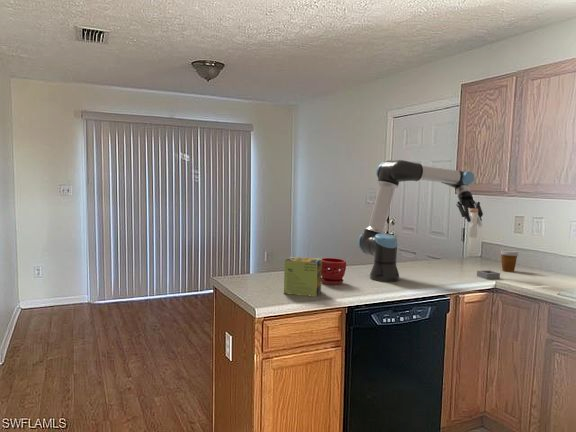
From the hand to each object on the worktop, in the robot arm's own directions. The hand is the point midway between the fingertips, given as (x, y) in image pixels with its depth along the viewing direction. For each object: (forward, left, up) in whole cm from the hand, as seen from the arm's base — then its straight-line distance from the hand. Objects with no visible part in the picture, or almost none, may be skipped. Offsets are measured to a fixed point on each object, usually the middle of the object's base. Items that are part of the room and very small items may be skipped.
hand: (476, 225), depth 243 cm
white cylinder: (+1, +4, -7) cm, 8 cm away
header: (+3, -8, -28) cm, 29 cm away
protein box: (-104, -19, -29) cm, 110 cm away
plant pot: (-84, -3, -28) cm, 89 cm away
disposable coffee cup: (+31, +10, -28) cm, 43 cm away
